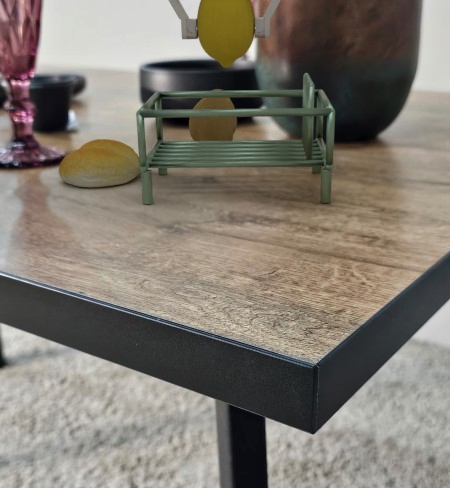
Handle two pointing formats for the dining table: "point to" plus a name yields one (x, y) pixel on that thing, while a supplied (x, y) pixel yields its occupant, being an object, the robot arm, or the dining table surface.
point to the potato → (213, 121)
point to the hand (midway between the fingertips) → (225, 38)
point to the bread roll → (100, 164)
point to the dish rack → (240, 151)
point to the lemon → (225, 29)
